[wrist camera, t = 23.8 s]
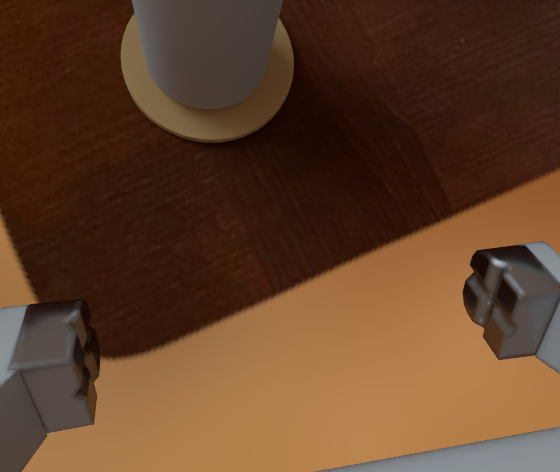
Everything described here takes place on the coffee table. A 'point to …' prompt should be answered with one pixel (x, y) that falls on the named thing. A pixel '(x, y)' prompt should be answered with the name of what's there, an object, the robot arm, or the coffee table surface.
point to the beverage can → (207, 47)
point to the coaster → (209, 121)
